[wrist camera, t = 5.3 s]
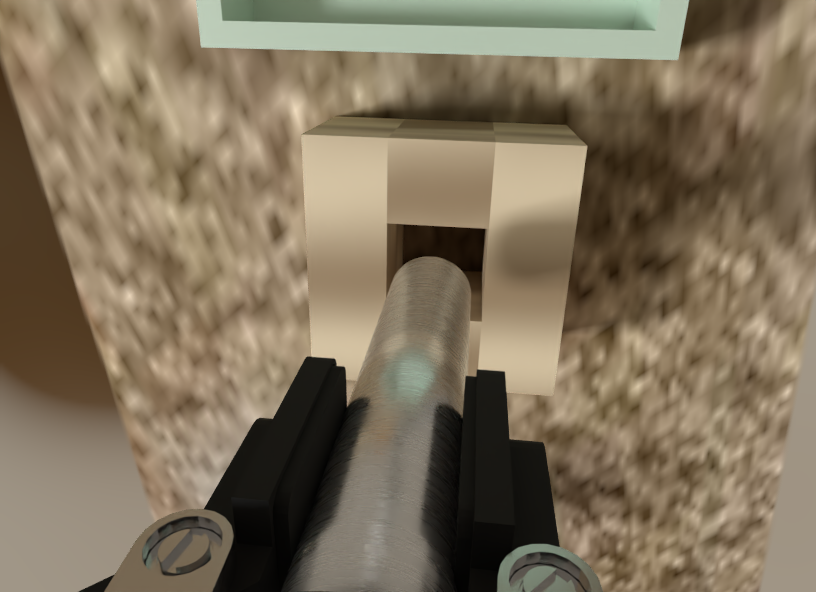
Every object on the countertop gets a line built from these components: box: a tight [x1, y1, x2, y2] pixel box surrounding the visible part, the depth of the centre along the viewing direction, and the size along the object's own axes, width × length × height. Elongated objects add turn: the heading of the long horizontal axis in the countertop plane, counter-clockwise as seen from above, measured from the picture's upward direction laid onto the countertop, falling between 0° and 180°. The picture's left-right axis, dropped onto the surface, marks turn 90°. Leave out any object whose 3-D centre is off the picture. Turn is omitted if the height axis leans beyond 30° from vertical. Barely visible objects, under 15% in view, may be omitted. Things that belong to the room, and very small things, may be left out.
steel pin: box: [281, 257, 471, 592], centre depth 12 cm, size 4×4×13 cm
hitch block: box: [301, 116, 587, 396], centre depth 23 cm, size 9×9×5 cm
